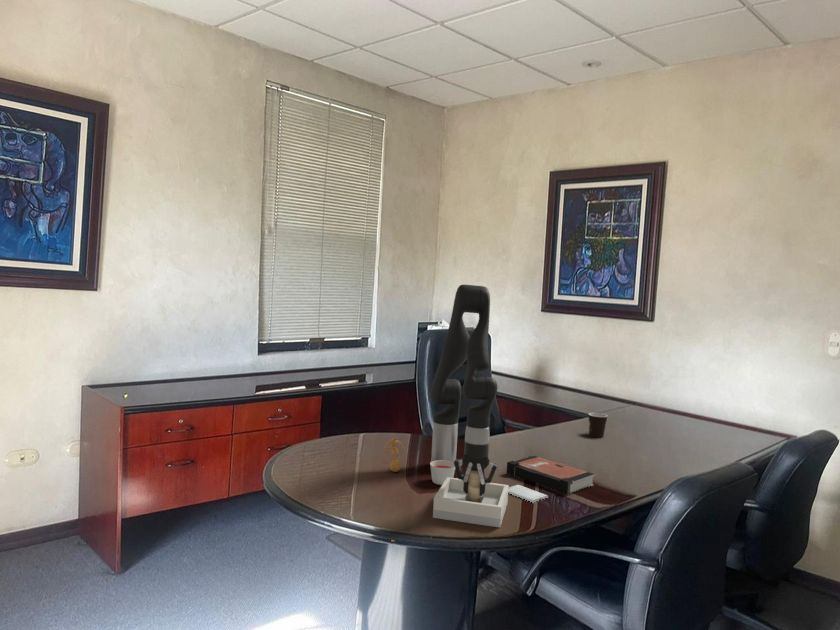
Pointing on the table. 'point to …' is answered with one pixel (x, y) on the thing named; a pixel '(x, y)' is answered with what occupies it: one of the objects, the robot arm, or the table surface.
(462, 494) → the tray
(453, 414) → the robot arm
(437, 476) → the white cup
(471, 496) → the peg
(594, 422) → the coffee mug
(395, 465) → the figurine
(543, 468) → the book
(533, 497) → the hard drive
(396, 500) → the table surface
